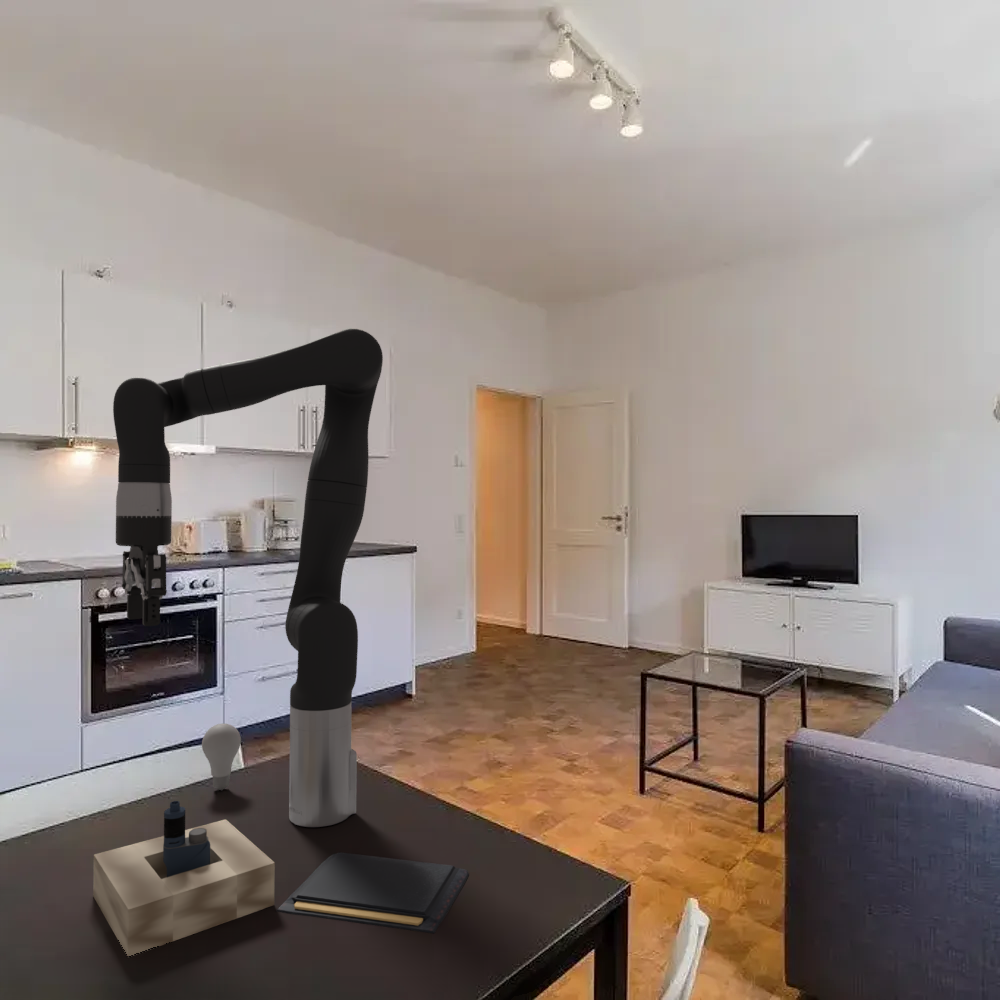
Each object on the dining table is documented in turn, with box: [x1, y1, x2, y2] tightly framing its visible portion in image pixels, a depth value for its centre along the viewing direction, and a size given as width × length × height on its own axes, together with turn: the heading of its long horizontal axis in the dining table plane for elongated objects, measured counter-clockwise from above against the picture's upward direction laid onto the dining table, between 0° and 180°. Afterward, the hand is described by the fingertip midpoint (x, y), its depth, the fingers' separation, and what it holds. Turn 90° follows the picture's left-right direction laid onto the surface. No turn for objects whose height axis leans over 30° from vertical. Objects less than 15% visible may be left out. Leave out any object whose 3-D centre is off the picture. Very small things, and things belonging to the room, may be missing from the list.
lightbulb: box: [201, 723, 242, 791], centre depth 123 cm, size 6×6×11 cm
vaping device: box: [163, 800, 210, 877], centre depth 89 cm, size 3×5×12 cm, turn 112°
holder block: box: [92, 819, 276, 957], centre depth 89 cm, size 16×16×5 cm
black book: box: [275, 851, 470, 934], centre depth 91 cm, size 20×2×15 cm
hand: (143, 622), depth 110 cm, fingers open, 8 cm apart
